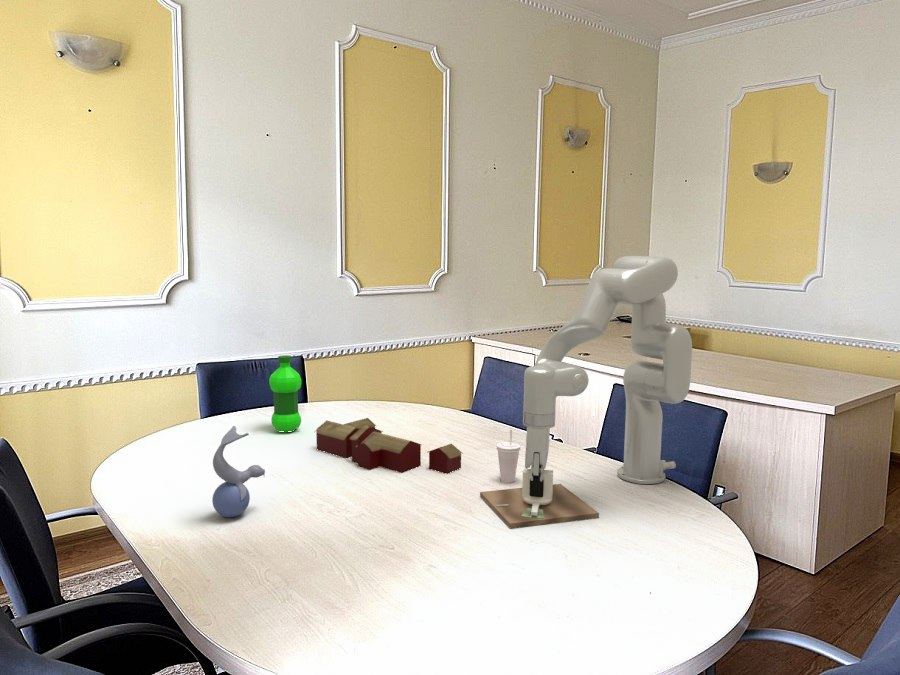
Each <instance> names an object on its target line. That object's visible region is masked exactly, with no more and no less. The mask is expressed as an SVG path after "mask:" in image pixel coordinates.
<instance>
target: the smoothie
mask: <svg viewBox="0 0 900 675" xmlns="http://www.w3.org/2000/svg"><path fill="white" fill-rule="evenodd" d="M496 450H497V457H498V465H499V466H498V467H499V475H500V476H499V477H500V482H502V483H504V482H505V483H506V484H511V483H514V482H515V481H516V475H517V469H518V462H519V461H518V460H519V454H520V451H521V450H522V449H521V445H520V444H519V443H517V442H513V429H511V428H510V429H509V441H507V442H506V441H502V442H498V443H497V444H496ZM505 483H504V484H505Z"/></svg>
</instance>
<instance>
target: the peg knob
mask: <svg viewBox="0 0 900 675" xmlns="http://www.w3.org/2000/svg"><path fill="white" fill-rule="evenodd" d="M539 472H540V471H539ZM530 479H531V468H527V469H526V468H525V467H524V468H523V471H522V487H521V488H522V497H523V501H524V502H526V503H528V504H532V510H531V515H535V516H537V514H538V509H539V505H547V504H550V503H551V502H552V495H553V484H554V470H553V469H544V470H543V480H544V488H543V497H531V496H530Z"/></svg>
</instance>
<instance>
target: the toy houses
mask: <svg viewBox="0 0 900 675" xmlns="http://www.w3.org/2000/svg"><path fill="white" fill-rule="evenodd" d="M376 427H377V425H376V424H375V423H374V422H373V420H371V419H370V418H369V417H365V418H361V419H357V420H354V421H351V422H346V423H344V424H342V423H339V422H334V421H331V420H325V421H324V422H323V423H322V424H321V425H319V426H318V427H317V428H316V430H315V431H314V433H316V437H315V438H316V450H317V449H318V450H317V451H319V450H321V451H320V452H323V451H325V452H324V453H326V452H327V454H329V453H331V454H330V455H333V454H334V456H336V455H337V456H336V457H339V456H340V458H344V459H346V458H347V459H349V457H350V458H351V463H354V464H357V467H358V468H361V469H364V470H368V471H371V470H375V469H378V468H384V469H387V470H391V471H394V472H396V471H397V472H396V473H401V474H403V473H406V472H408V471H411V469H412V470H414V469H417V468H419V466H420V467H421V466H422V465H421V464H422V462H421V461H422V460H421V459H422V458H421V456H422V455H421V454H422V453H421V448H422V447H421V446H422V444H421V443H418V442H415V441H413V440H410V439H406V438H405V439H404V438H401V437H398V436H397V437H396V436H394V435H389V434H384V431H383V430H381V429H377V428H376ZM427 453H429V454H428V457H429V458H428V469H429V470H431V469H432V471H435V470H436V471H435V472H438V471H439V473H442V472H443V474H445V473H447V474H446V475H449V474H450V472H451V473H453V472H452V471H454V472H455V470H456V471H458V470H457V469H459V468H461V469H462V455H464V453H463V452H462V450H460V449H458V448H457V446H455V445H454V444H453V443H449V444H445V445H443V446H440V447H437V448H434V449H432V450H429V451H427ZM416 467H417V468H416ZM459 470H460V469H459ZM448 473H449V474H448Z"/></svg>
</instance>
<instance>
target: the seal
mask: <svg viewBox="0 0 900 675" xmlns="http://www.w3.org/2000/svg"><path fill="white" fill-rule="evenodd" d="M247 436H249V432H246V433H243V434H239V433H237V426H235V425H233V426H232V427H231V428H230V429H229V430H228V431H227V432H226V433H225V435H224V436H223V437H222V439H221V441H220V442H221V443H220V445H219V446H218V447H217V449H216V451H215V453H214V455H213V458H212V467H213V470H214V472H215V474H216V475H217V476H218V477H219V479H221V480H223V481H224V482H222V483H221V484H219V486H217V488H215V490H214V492H213V494H212V505H213V508H214V510H215V511H216V512H217V513H218V514H219V515H220V516H222V517H226V518H235V517H238V516H240V515H242V514H243V513H244V512H245V511H246V510H247V508H248V506H249V504H250V500H251V497H250V492H249V489H248V487H247V486H246V485H245V484H244V483H247V481H248V480H250V479H251V478H253V479H254V478H255V479H256V478H259V477H260V478H261V477H262V476H263V477H266V470H265V469H264V468H263V467H262V466H260V465H259V464H253V465H250V466H248V468H246V469H245V470H243V471H242V470H239V469H237V468H235V467H234V466H232V465H230V464H229V463H228V462H227V460H226V458H225V457H224V450H225V447H226V446H228V445H230V444H231V443H234V442H236V441H238V440H240V439H242V438H244V437H247Z"/></svg>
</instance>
